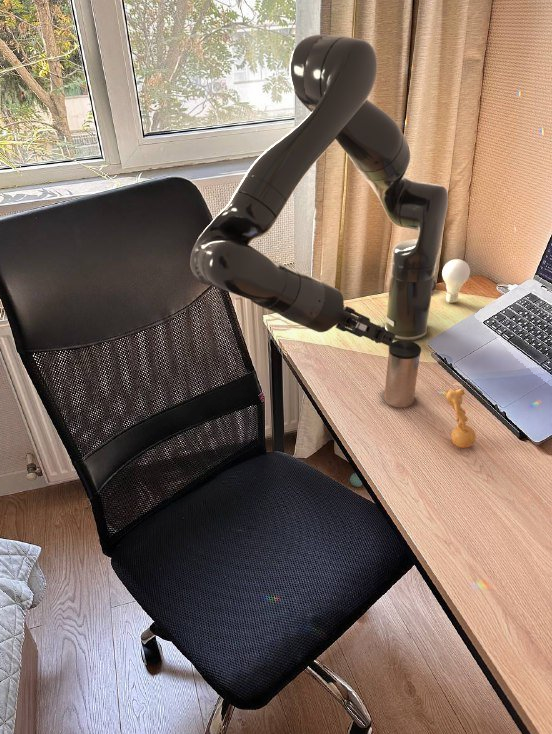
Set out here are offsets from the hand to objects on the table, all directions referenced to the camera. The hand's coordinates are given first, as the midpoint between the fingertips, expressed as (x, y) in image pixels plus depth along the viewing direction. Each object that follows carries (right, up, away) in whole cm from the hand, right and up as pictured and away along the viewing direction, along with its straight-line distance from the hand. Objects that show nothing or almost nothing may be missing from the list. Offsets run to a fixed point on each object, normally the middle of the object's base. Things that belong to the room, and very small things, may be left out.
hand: (375, 332), depth 101 cm
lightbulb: (+28, +12, +44) cm, 54 cm away
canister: (+7, -12, +13) cm, 19 cm away
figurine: (+14, -20, +1) cm, 24 cm away
